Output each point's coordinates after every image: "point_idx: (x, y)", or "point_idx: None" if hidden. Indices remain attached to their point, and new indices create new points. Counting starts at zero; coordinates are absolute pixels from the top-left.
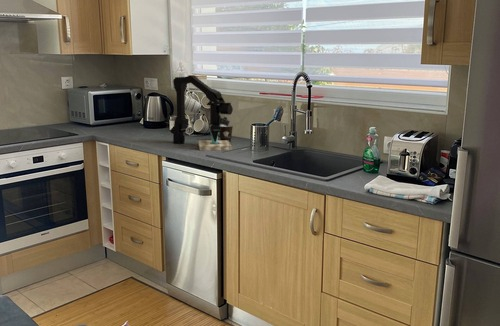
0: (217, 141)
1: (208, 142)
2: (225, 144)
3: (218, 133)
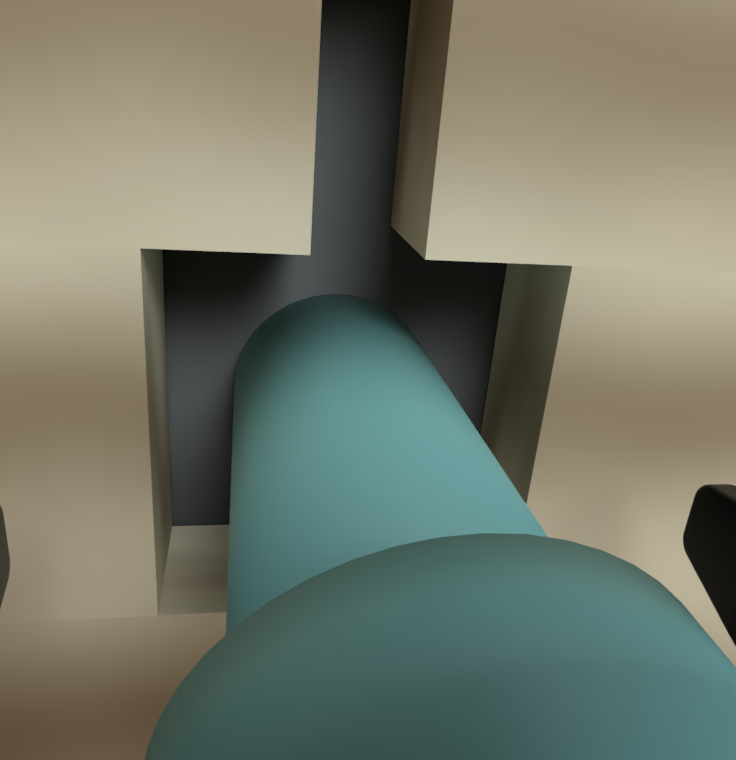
0: (418, 380)
1: (210, 634)
2: (713, 45)
3: (637, 588)
